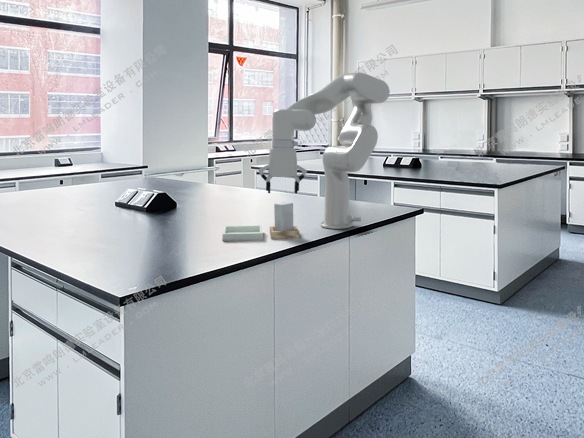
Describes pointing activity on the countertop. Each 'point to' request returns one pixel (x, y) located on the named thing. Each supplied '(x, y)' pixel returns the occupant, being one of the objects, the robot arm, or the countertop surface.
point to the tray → (242, 233)
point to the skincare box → (283, 216)
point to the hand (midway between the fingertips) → (282, 193)
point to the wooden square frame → (284, 233)
